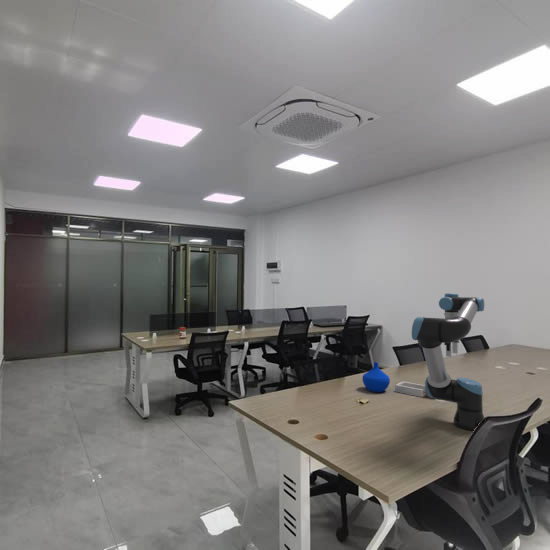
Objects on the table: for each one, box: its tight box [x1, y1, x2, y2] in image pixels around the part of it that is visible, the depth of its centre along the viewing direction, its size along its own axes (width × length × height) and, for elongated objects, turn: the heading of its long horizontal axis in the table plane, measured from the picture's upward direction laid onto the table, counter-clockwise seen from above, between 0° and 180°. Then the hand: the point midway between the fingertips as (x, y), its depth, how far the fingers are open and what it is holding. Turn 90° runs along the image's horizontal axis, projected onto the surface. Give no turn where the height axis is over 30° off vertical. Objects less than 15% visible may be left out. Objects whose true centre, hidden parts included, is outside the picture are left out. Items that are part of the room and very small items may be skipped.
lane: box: [394, 381, 425, 398], centre depth 244 cm, size 19×13×4 cm
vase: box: [362, 361, 391, 393], centre depth 248 cm, size 18×18×19 cm
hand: (451, 355), depth 212 cm, fingers open, 13 cm apart
